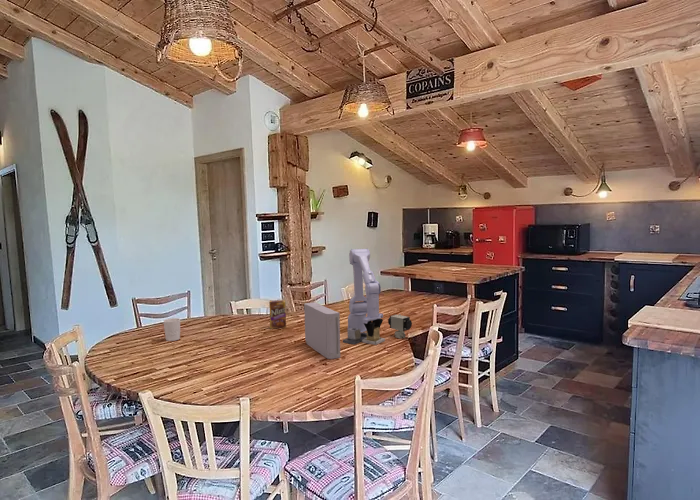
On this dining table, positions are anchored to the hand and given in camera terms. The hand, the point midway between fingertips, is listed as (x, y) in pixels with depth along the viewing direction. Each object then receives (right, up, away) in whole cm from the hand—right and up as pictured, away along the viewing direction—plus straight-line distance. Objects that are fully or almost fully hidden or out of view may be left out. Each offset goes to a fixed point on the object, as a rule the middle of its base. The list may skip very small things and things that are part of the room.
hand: (373, 335), depth 221 cm
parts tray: (0, -4, 0) cm, 4 cm away
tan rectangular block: (0, -2, 0) cm, 2 cm away
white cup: (-102, -5, +12) cm, 103 cm away
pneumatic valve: (+14, -3, +7) cm, 16 cm away
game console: (-24, -5, -11) cm, 27 cm away
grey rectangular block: (-9, -3, +1) cm, 10 cm away
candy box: (-51, -2, +31) cm, 60 cm away
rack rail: (-7, -3, +4) cm, 9 cm away
